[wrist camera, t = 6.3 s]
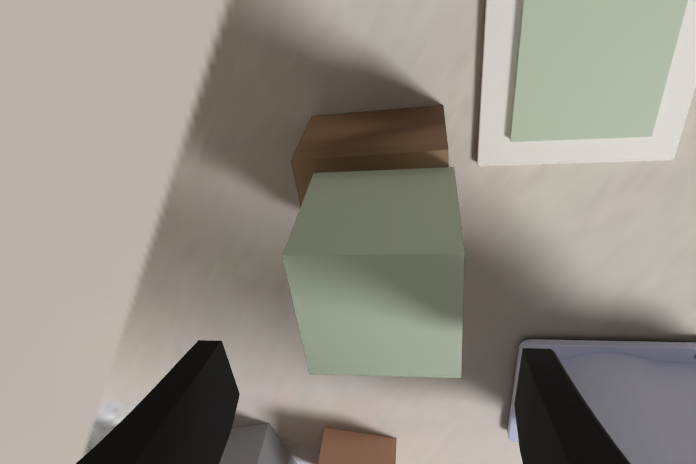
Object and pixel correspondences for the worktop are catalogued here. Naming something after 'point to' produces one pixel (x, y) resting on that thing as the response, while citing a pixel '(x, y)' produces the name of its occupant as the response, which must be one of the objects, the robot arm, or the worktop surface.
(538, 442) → the robot arm
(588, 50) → the swatch
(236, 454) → the slate grey block
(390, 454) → the terracotta block
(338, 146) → the walnut base block
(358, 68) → the worktop surface
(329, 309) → the sage block
